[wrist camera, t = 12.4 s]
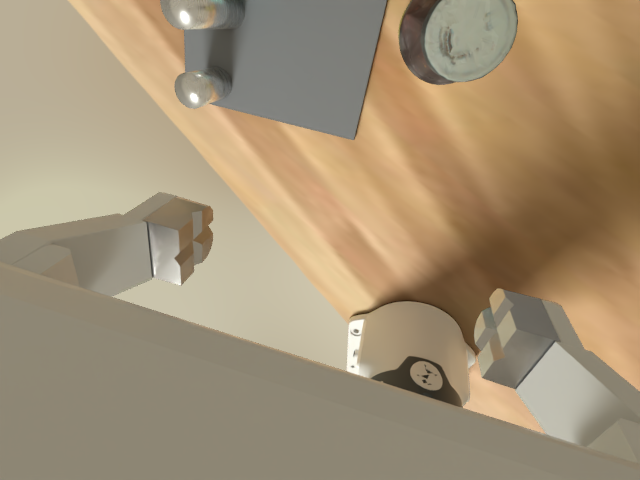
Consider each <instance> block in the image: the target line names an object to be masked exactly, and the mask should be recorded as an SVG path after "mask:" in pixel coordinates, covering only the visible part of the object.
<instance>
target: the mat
mask: <svg viewBox="0 0 640 480" xmlns="http://www.w3.org/2000/svg"><path fill="white" fill-rule="evenodd" d="M242 2H243V4H244V8H245V16H244V20H243V22H242V24H241V25H240V26H239V27H237V28H235V29H184V42H185V73H187V72H192V71H197V70H202V69H207V68H212V67H220V68H223V69H224V70H226V71H227V72H228V74H229V75H230V77H231V80H232V91H231V93H230V94H229V95H228V96H227V97H225V98H223V99H220V100H217V101H215V102H212V103H209V104H212V105H216V106H220V107H224V108H228V109H232V110H236V111H240V112H244V113H248V114H252V115H256V116H260V117H264V118H268V119H272V120H276V121H280V122H283V123H287V124H291V125H295V126H299V127H303V128H307V129H311V130H315V131H319V132H323V133H327V134H331V135H335V136H339V137H343V138H347V139H351V140H354V139H355V135H356V130H357V126H358V122H359V118H360V113H361V109H362V105H363V101H364V97H365V92H366V88H367V84H368V80H369V75H370V71H371V67H372V63H373V59H374V54H375V50H376V46H377V42H378V37H379V33H380V29H381V25H382V21H383V16H384V12H385V8H386V4H387V0H242Z"/></svg>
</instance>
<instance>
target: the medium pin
mask: <svg viewBox="0 0 640 480" xmlns="http://www.w3.org/2000/svg"><path fill="white" fill-rule="evenodd" d="M160 3H161V8H162V11H163V14H164V16H165V18H166V19H167V20H168V22H169V23H170V24H171V25H173V26H174V27H176V28H178V29H182V30H183V29H235V28H237V27H239V26H240V25H241V24H242V22H243V20H244V16H245V8H244V4H243V2H242V0H160Z"/></svg>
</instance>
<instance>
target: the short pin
mask: <svg viewBox="0 0 640 480" xmlns="http://www.w3.org/2000/svg"><path fill="white" fill-rule="evenodd" d="M231 91H232V80H231V77H230V75H229V74H228V72H227V71H226V70H224V69H223V68H220V67H212V68H207V69H202V70H197V71H192V72H187V73H182V74H180V75H179V76H178V77H177V79H176V81H175V92H176V95H177V97H178V99H179V100H180V102H181V103H182V104H183V105H185V106H186V107H188V108H193V109H195V108H199V107H201V106H204V105H207V104H209V103H212V102H215V101H217V100H220V99H223V98H225V97H227V96H228V95H229V94H230V93H231Z"/></svg>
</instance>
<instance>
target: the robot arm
mask: <svg viewBox="0 0 640 480" xmlns="http://www.w3.org/2000/svg"><path fill="white" fill-rule="evenodd" d="M212 221H213V210H212V208H211V207H210V206H207V205H204V204H201V203H198V202H194V201H191V200H188V199H184V198H181V197H178V196H174V195H171V194H167V193H162V192H159V193H157V194H156V195H154V196H152V197H151V198H149V199H148V200H146V201H145V202H143V203H142V204H140V205H138V206H137V207H135V208H134V209H132V210H131V211H129V212H127V213H126V214H124V215H121V214H113V215H108V216H102V217H96V218H90V219H84V220H78V221H73V222H67V223H62V224H55V225H50V226H44V227H38V228H32V229H27V230H22V231H16V232H14V233H12V234H10V235H8V236H6V237H4V238H2V239H0V480H640V392H639V391H638V390H637V389H636V388H635V387H633V386H632V385H631V384H630V383H629V382H627V381H626V380H625V379H624V378H623V377H621V376H620V375H619V374H618V373H617V372H615V371H614V370H613V369H612V368H611V367H609V366H608V365H607V364H606V363H605V362H603V361H602V360H601V359H600V358H599V357H597V356H596V355H595V354H594V353H593V352H591V351H588V350H585V349H584V347H583V345H582V343H581V342H580V340H579V338H578V336H577V334H576V332H575V330H574V328H573V327H572V325H571V323H570V321H569V319H568V317H567V315H566V314H565V312H564V310H563V308H562V306H560V305H559V304H558V303H555V302H551V301H547V300H543V299H539V298H534V297H530V296H527V295H523V294H519V293H515V292H511V291H507V290H503V289H499V288H497V289H496V290H495V291H494V292H493V293H492V295H491V297H490V298H489V301H490V305H491V307H489V308H487V309H485V310H483V311H481V313H480V315H479V317H478V319H477V321H476V325H475V329H474V339H475V344H476V346H477V347H478V348H479V349H480V350H481V351H482V352H481V353H480V355H479V356H478V361H479V365H480V370H481V375H482V378H484V379H487V380H490V381H493V382H495V383H498V384H501V385H504V386H507V387H510V388H513V389H516V390H515V391H516V393H517V394H518V395H519V397H520V398H521V399H522V401H523V402H524V404H525V405H526V406H527V408H528V409H529V411H530V412H531V413H532V415H533V416H534V418H535V419H536V420H537V422H538V423H539V425H540V426H541V427H542V429H543V430H544V431H545V433H546V434H547V435H546V434H543V433H540V432H537V431H534V430H530V429H527V428H524V427H521V426H518V425H515V424H511V423H508V422H505V421H502V420H499V419H496V418H492V417H489V416H486V415H483V414H480V413H477V412H474V411H470V410H467V409H464V408H463V406H464V405H465V404H466V402H469V400H470V383H469V368H470V367H471V366H472V365H473V364H474V363H475V361H476V355H475V352H474V351H473V350H472V349H471V348H470V347H469V346H468V345H467V344H466V343H465V341H464V338H463V335H462V332H461V329H460V327H459V326H458V324H457V323H456V321H455V320H454V319H453V318H452V317H451V316H449V315H448V314H447V313H445V312H444V311H442V310H440V309H439V308H436V307H434V306H431V305H428V304H425V303H420V302H412V301H403V302H395V303H390V304H387V305H384V306H382V307H380V308H378V309H376V310H374V311H373V312H370V313H368V314H361V315H356V316H353V317H351V318H350V319H349V330H348V351H347V371H344V370H341V369H338V368H335V367H331V366H328V365H325V364H322V363H319V362H316V361H312V360H309V359H306V358H303V357H300V356H297V355H293V354H290V353H287V352H284V351H281V350H277V349H274V348H271V347H268V346H265V345H261V344H259V343H255V342H252V341H249V340H246V339H243V338H240V337H236V336H233V335H230V334H227V333H224V332H221V331H218V330H214V329H211V328H208V327H205V326H202V325H199V324H195V323H192V322H189V321H186V320H183V319H180V318H177V317H173V316H170V315H167V314H164V313H161V312H158V311H154V310H151V309H148V308H145V307H142V306H139V305H135V304H132V303H129V302H126V301H123V300H120V299H116V298H113V297H112V296H114V295H117V294H119V293H121V292H124V291H126V290H128V289H131V288H133V287H135V286H138V285H140V284H142V283H145V282H147V281H149V280H151V279H152V278H156V279H160V280H163V281H167V282H170V283H174V284H177V285H182V284H183V283H184V282H185V281H186V280H187V279H188V277H189V276H190V275H191V274H192V273H193V272H194V265H196V264H199V263H202V262H203V261H204V259H205V258H206V257H207V256H208V254H209V251H210V249H211V246H212V241H213V233H212V231H211V229H210V228H209V226H208V225H209V224H210V223H211V222H212ZM356 329H357V330H356Z"/></svg>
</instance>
